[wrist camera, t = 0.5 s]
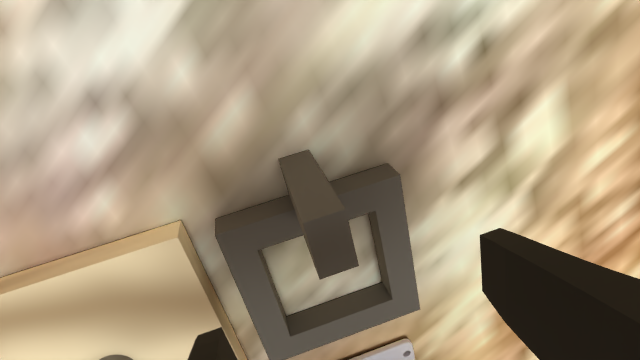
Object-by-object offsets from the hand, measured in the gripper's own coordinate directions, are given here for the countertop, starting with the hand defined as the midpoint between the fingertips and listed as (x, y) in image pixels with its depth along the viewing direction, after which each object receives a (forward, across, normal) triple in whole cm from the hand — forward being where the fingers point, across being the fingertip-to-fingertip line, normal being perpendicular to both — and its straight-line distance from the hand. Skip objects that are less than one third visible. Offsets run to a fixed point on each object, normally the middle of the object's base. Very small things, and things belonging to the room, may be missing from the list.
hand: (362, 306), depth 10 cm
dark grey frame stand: (+9, 0, +6) cm, 11 cm away
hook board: (+9, +12, +10) cm, 18 cm away
